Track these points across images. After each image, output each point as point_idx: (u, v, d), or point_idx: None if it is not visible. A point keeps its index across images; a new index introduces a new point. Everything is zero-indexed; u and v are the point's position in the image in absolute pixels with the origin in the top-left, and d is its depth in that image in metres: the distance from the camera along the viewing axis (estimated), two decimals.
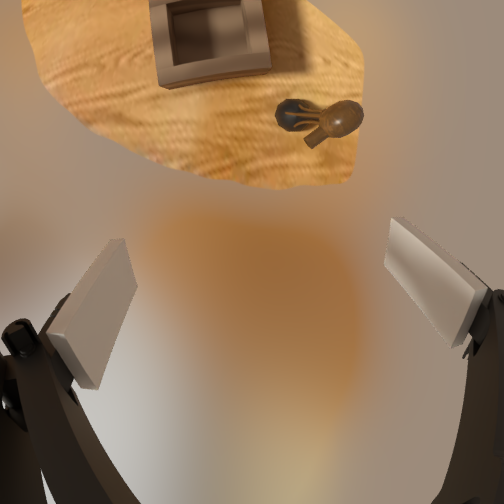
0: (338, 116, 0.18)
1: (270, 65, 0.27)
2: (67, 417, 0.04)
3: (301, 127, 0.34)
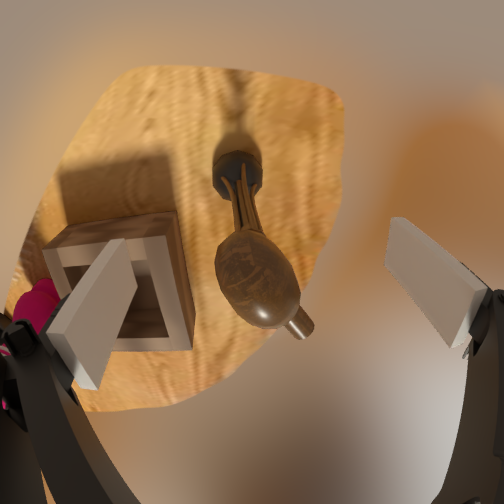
0: (257, 324, 0.10)
1: (162, 237, 0.22)
2: (67, 417, 0.04)
3: (257, 174, 0.24)
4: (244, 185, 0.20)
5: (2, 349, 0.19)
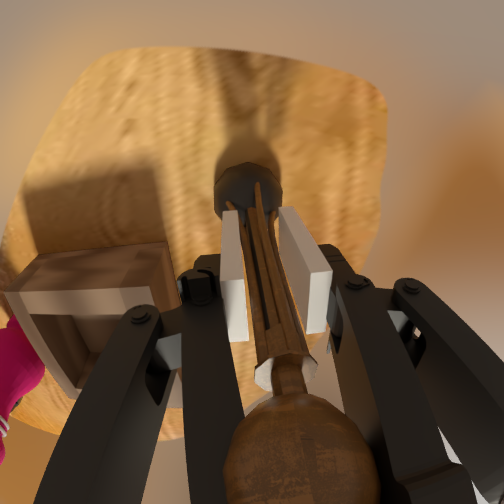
0: None
1: (145, 288, 0.16)
2: (236, 379, 0.06)
3: (276, 197, 0.18)
4: (262, 224, 0.13)
5: None
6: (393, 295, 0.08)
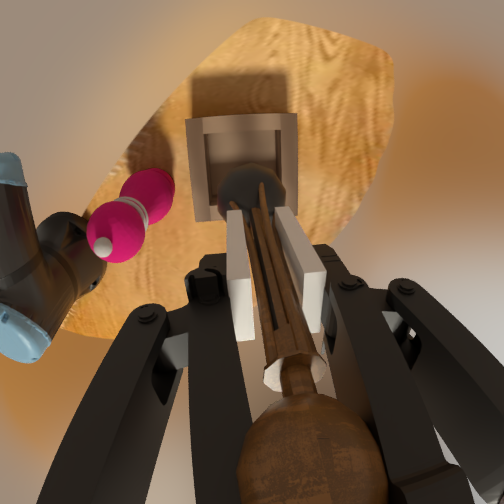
0: None
1: (294, 114, 0.31)
2: (243, 378, 0.06)
3: (280, 198, 0.18)
4: (267, 224, 0.13)
5: (125, 198, 0.27)
6: (388, 296, 0.08)
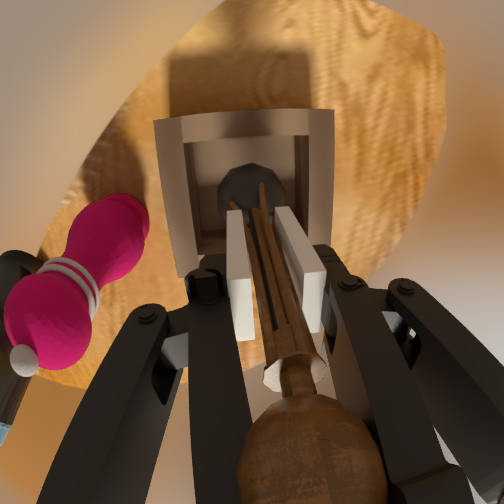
0: None
1: (330, 111, 0.19)
2: (243, 378, 0.06)
3: (280, 198, 0.18)
4: (267, 224, 0.13)
5: (59, 261, 0.15)
6: (388, 296, 0.08)
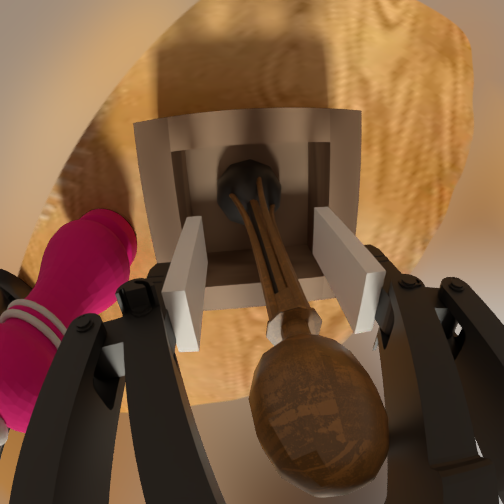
0: None
1: (357, 112, 0.14)
2: (178, 386, 0.06)
3: (276, 191, 0.19)
4: (265, 211, 0.14)
5: (24, 305, 0.11)
6: (439, 291, 0.08)
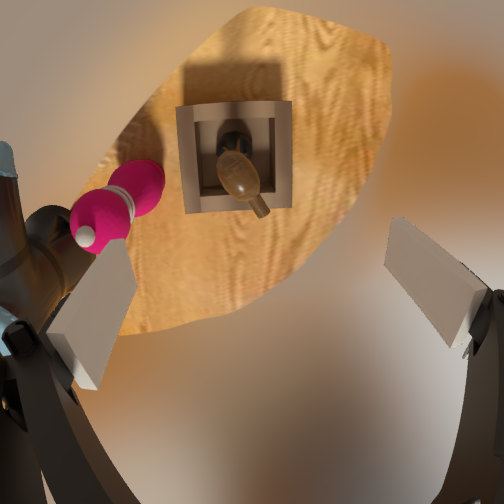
0: (235, 192, 0.19)
1: (289, 102, 0.29)
2: (67, 417, 0.04)
3: (248, 146, 0.34)
4: (237, 148, 0.29)
5: (111, 187, 0.25)
6: None
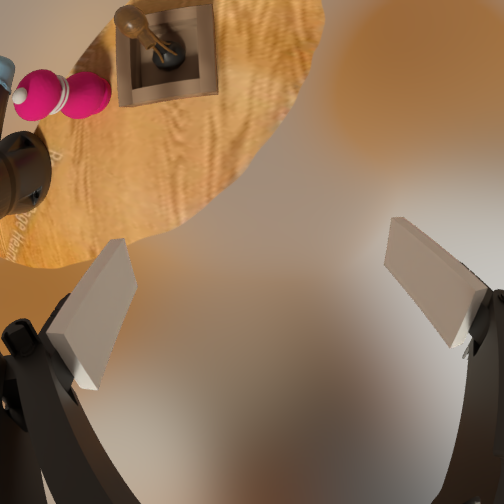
0: (122, 25, 0.16)
1: (209, 5, 0.26)
2: (67, 417, 0.04)
3: (178, 48, 0.30)
4: (160, 39, 0.26)
5: None
6: None
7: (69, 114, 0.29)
